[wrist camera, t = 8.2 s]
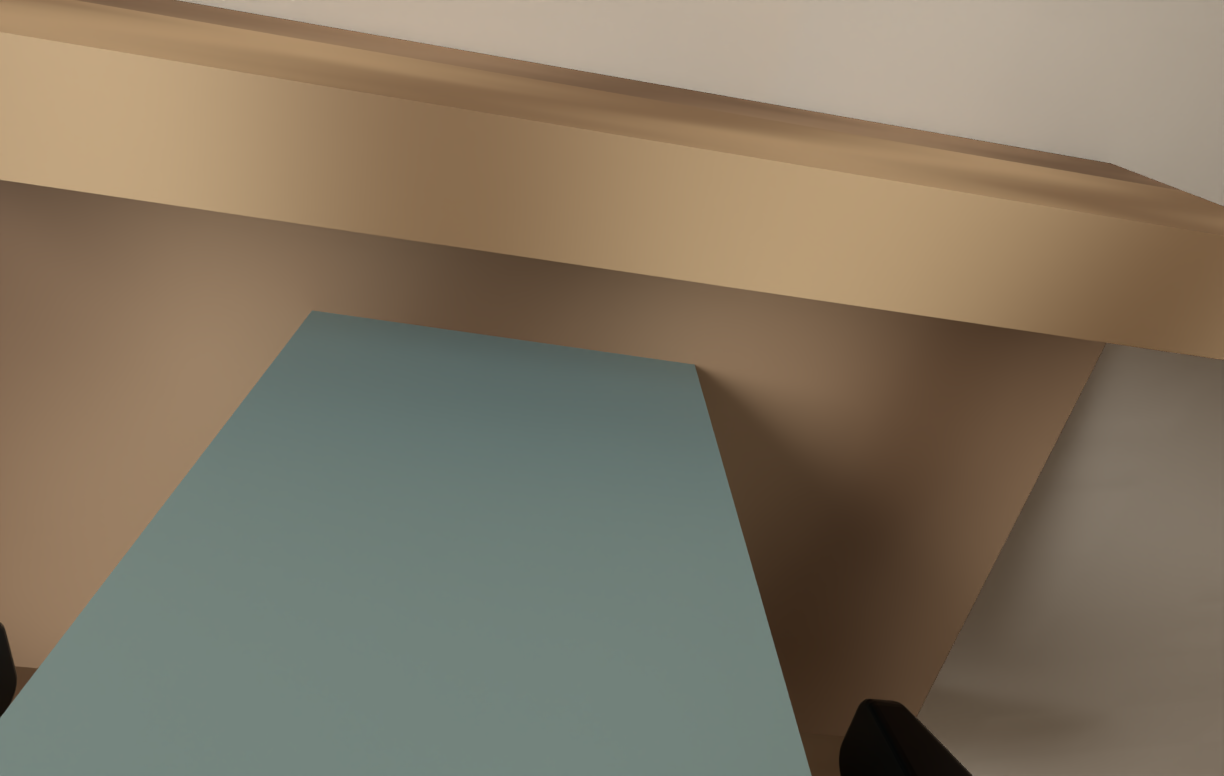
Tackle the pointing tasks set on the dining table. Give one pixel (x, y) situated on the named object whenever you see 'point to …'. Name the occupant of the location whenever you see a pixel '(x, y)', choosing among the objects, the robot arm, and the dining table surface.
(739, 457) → the cleat board
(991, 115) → the dining table surface
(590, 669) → the teal block
